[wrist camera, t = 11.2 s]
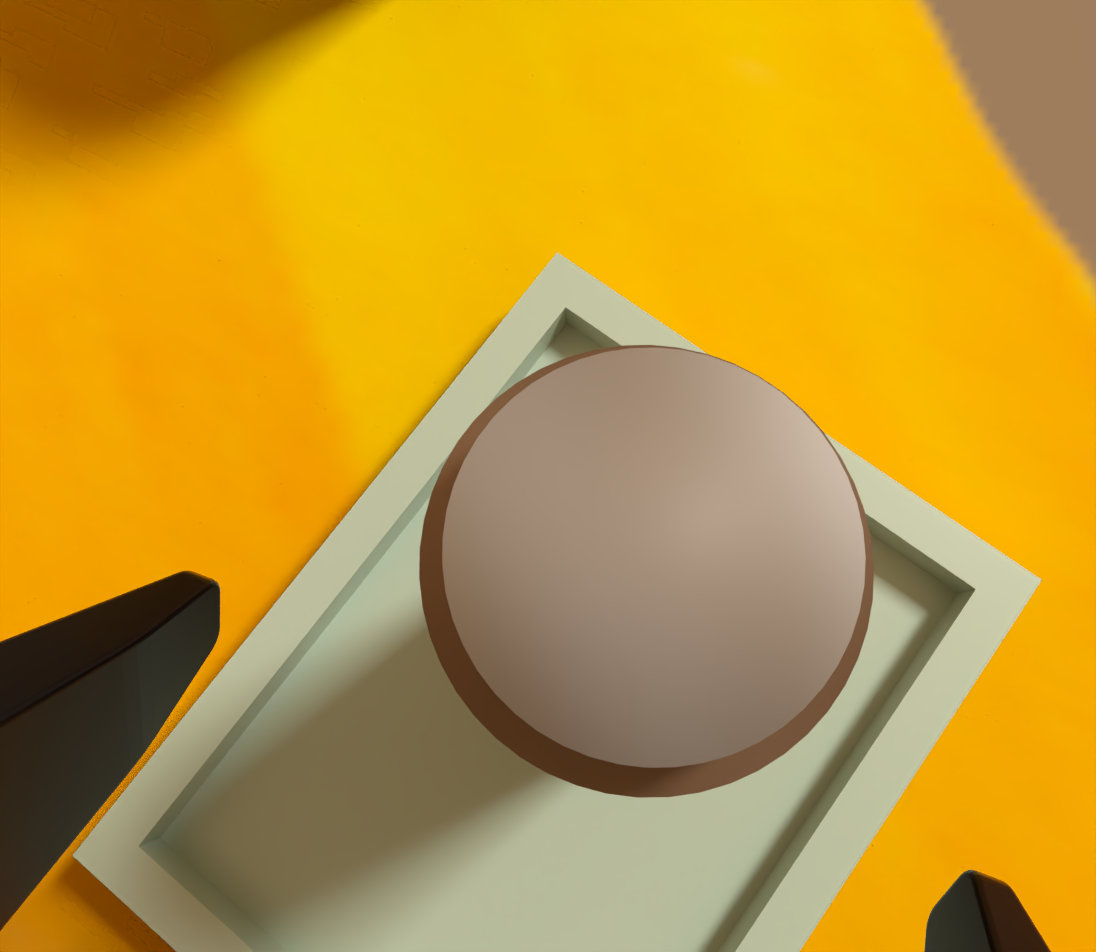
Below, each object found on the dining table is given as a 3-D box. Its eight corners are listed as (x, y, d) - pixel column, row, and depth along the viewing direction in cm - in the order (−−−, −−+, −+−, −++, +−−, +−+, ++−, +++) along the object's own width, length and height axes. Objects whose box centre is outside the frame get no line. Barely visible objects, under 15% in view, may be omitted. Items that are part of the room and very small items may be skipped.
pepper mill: (583, 767, 19) (590, 928, 8) (464, 587, 20) (307, 486, 9) (758, 641, 20) (1017, 611, 8) (633, 470, 21) (703, 223, 9)
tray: (567, 1242, 18) (565, 1310, 16) (121, 837, 21) (72, 856, 19) (999, 588, 21) (1042, 580, 19) (559, 287, 23) (557, 252, 21)
